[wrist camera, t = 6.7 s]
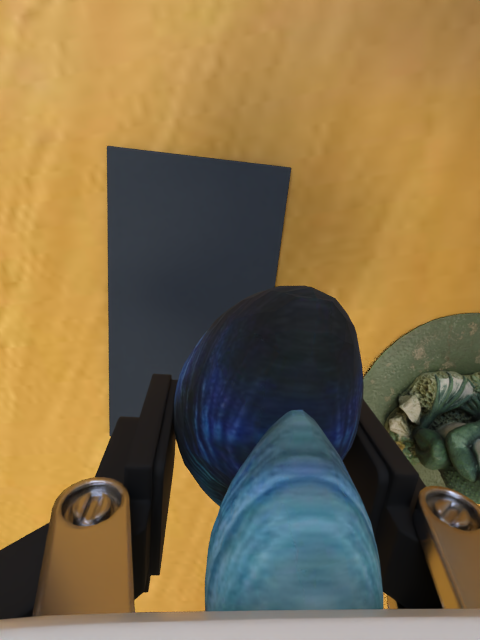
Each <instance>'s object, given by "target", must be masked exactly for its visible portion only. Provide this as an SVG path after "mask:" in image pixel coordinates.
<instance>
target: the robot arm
mask: <svg viewBox="0 0 480 640" xmlns="http://www.w3.org/2000/svg"><path fill="white" fill-rule="evenodd" d="M177 382H178V380H173V379H172V375H169V374H153V375H152V378H151V381H150V385H149V388H148V391H147V394H146V398H145V401H144V404H143V407H142V410H141V414H140V417H123V416H121V417H119V419H118V421H117V423H116V426H115V428H114V431H113V433H112V436H111V438H110V441H109V443H108V446H107V448H106V451H105V453H104V456H103V458H102V461H101V463H100V466H99V468H98V471H97V473H96V476H95V477H93V478H89V479H85V480H81V481H79V482H77V483H75V484H72V485H71V486H70V487H68V488H67V489H65V490H64V491H63V492H62V493H61V494H60V495H59V497H58V498H57V499H56V501H55V503H54V506H53V508H52V513H51V519H50V522H49V523H48V524H46V525H44V526H42V527H41V528H39V529H37V530H35V531H34V532H32V533H30V534H28V535H26V536H25V537H23V538H21V539H19V540H18V541H16V542H14V543H12V544H11V545H9V546H7V547H5V548H3V549H2V550H0V640H480V507H479V506H478V505H477V504H476V503H475V502H474V501H473V500H471V499H470V498H468V497H466V496H465V495H463V494H461V493H459V492H457V491H455V490H452V489H449V488H446V487H442V486H429V487H426V485H425V484H424V483H423V481H422V480H421V478H420V477H419V474H418V472H417V471H416V470H415V468H414V467H413V465H412V464H411V463H410V461H409V460H408V459H407V457H406V456H405V455H404V453H403V452H402V451H401V449H400V448H399V447H398V445H397V444H396V442H395V441H394V440H393V438H392V437H391V436H390V434H389V433H388V432H387V430H386V429H385V428H384V426H383V425H382V424H381V422H380V421H379V419H378V418H377V417H376V415H375V414H374V413H373V411H372V410H371V409H370V407H369V406H368V405H367V403H366V402H365V401H364V399H363V403H362V408H361V414H360V419H359V424H358V428H357V432H356V436H355V439H354V441H353V444H352V447H351V449H350V450H349V452H348V453H347V455H346V456H345V458H344V460H343V463H344V465H345V467H346V469H347V471H348V473H349V475H350V477H351V479H352V481H353V483H354V485H355V487H356V489H357V491H358V493H359V495H360V497H361V500H362V502H363V504H364V507H365V509H366V511H367V514H368V516H369V519H370V521H371V525H372V529H373V533H374V538H375V542H376V545H377V550H378V555H379V560H380V568H381V577H382V588H383V592H384V593H386V594H387V605H388V609H348V610H259V611H199V612H139V613H135V607H134V600H135V599H136V598H137V597H138V596H139V595H141V594H142V593H143V592H148V589H149V583H150V576H151V575H159V574H160V568H161V560H162V552H163V545H164V537H165V529H166V522H167V514H168V506H169V499H170V491H171V483H172V475H173V468H174V457H175V439H176V437H175V433H174V398H175V392H176V386H177Z"/></svg>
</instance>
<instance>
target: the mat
mask: <svg viewBox="0 0 480 640" xmlns="http://www.w3.org/2000/svg"><path fill="white" fill-rule="evenodd" d="M290 173H291V168H289V167H281V166H272V165H264V164H256V163H247V162H239V161H230V160H222V159H214V158H205V157H197V156H188V155H180V154H172V153H163V152H155V151H146V150H138V149H129V148H121V147H113V146H107V202H108V311H109V420H110V436H112V433H113V431H114V428H115V426H116V423H117V421H118V419H119V417H121V416H123V417H140V414H141V410H142V407H143V404H144V401H145V398H146V394H147V391H148V388H149V385H150V381H151V378H152V375H153V374H169V375H172V379H173V380H178V379H179V375H180V372H181V370H182V367H183V365H184V363H185V361H186V360H187V358H188V357H189V355H190V354H191V352H192V351H193V349H194V347H195V345H196V344H197V342H198V340H199V339H200V338H201V337H202V336H203V335H204V334H205V333H206V331H207V330H208V329H209V328H210V327H211V325H212V324H213V323H214V321H215V320H216V319H217V318H219V317H220V316H221V315H222V314H223V313H224V312H225V311H227V310H228V309H229V308H231V307H232V306H234V305H235V304H237V303H238V302H240V301H241V300H243V299H244V298H247V297H249V296H251V295H253V294H255V293H257V292H261V291H265V290H267V289H270V288H274V287H275V281H276V274H277V267H278V260H279V253H280V245H281V238H282V231H283V224H284V217H285V209H286V202H287V195H288V188H289V181H290Z"/></svg>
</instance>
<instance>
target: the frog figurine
mask: <svg viewBox="0 0 480 640" xmlns="http://www.w3.org/2000/svg"><path fill="white" fill-rule="evenodd" d="M363 384H364V390H363V399H364V401H365V402H366V403H367V405H368V406H369V407H370V409H371V410H372V411H373V413H374V414H375V415H376V417H377V418H378V419H379V421H380V422H381V424H382V425H383V426H384V428H385V429H386V430H387V432H388V433H389V434H390V436H391V437H392V438H393V440H394V441H395V442H396V444H397V445H398V447H399V448H400V449H401V451H402V452H403V453H404V455H405V456H406V457H407V459H408V460H409V461H410V463H411V464H412V465H413V467H414V468H415V470H416V471H417V472H418V474H419V477H420V478H421V480H422V481H423V483H424V484H425V485H426V487H429V486H442V487H446V488H449V489H452V490H455V491H457V492H459V493H461V494H463V495H465V496H466V497H468V498H470V499H471V500H473V501H474V502H475V503H476V504H480V313H469V314H458V315H453V316H448V317H443V318H439V319H435V320H433V321H431V322H429V323H426V324H424V325H422V326H420V327H417V328H416V329H414V330H412V331H411V332H409V333H408V334H406V335H404V336H403V337H401V338H400V339H398V340H397V341H396V342H395V343H394V344H392V345H391V346H390V347H389V348H388V349H387V350H386V351H385V352H384V353H383V354H382V355H381V356H380V357H379V358H378V359H377V361H376V362H375V363H374V365H373V366H372V367H371V369H370V370H369V371H368V373H367V374H366V376H365V377H364V379H363Z"/></svg>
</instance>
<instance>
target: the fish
mask: <svg viewBox="0 0 480 640" xmlns="http://www.w3.org/2000/svg"><path fill="white" fill-rule="evenodd" d="M363 390H364V384H363V372H362V362H361V357H360V351H359V345H358V339H357V334H356V330H355V327H354V325H353V323H352V322H351V320H350V318H349V316H348V314H347V313H346V311H345V310H344V309H343V307H342V306H341V305H340V304H339V302H338V301H337V300H336V299H335V298H333V297H331V296H329V295H327V294H325V293H323V292H321V291H319V290H317V289H314V288H312V287H307V286H279V287H274V288H270V289H267V290H265V291H261V292H257V293H255V294H253V295H251V296H249V297H247V298H244V299H243V300H241V301H240V302H238V303H237V304H235V305H234V306H232V307H231V308H229V309H228V310H227V311H225V312H224V313H223V314H222V315H221V316H220V317H219V318H217V319H216V320H215V321H214V323H213V324H212V325H211V327H210V328H209V329H208V330H207V331H206V333H205V334H204V335H203V336H202V337H201V338H200V339H199V340H198V342H197V344H196V345H195V347H194V349H193V351H192V352H191V354H190V355H189V357H188V358H187V360H186V361H185V363H184V365H183V367H182V370H181V372H180V375H179V379H178V382H177V386H176V392H175V398H174V433H175V437H176V440H177V444H178V447H179V451H180V453H181V456H182V459H183V461H184V464H185V466H186V467H187V468H188V470H189V471H190V473H191V474H192V475H193V477H194V478H195V480H196V481H197V483H198V484H199V485H200V487H201V488H202V490H203V491H204V492H205V493H206V494H207V495H208V496H209V497H210V498H211V499H212V500H213V501H214V502H215V503H216V504H217V505H219V506H220V509H219V513H218V516H217V518H216V521H215V523H214V526H213V529H212V532H211V537H210V542H209V548H208V556H207V567H206V577H205V611H259V610H348V609H383V588H382V577H381V568H380V560H379V555H378V550H377V545H376V542H375V538H374V533H373V529H372V525H371V521H370V519H369V516H368V514H367V511H366V509H365V507H364V504H363V502H362V500H361V497H360V495H359V493H358V491H357V489H356V487H355V485H354V483H353V481H352V479H351V477H350V475H349V473H348V471H347V469H346V467H345V465H344V463H343V460H344V458H345V456H346V455H347V453H348V452H349V450H350V449H351V447H352V444H353V441H354V439H355V436H356V432H357V428H358V424H359V419H360V414H361V408H362V403H363Z"/></svg>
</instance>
